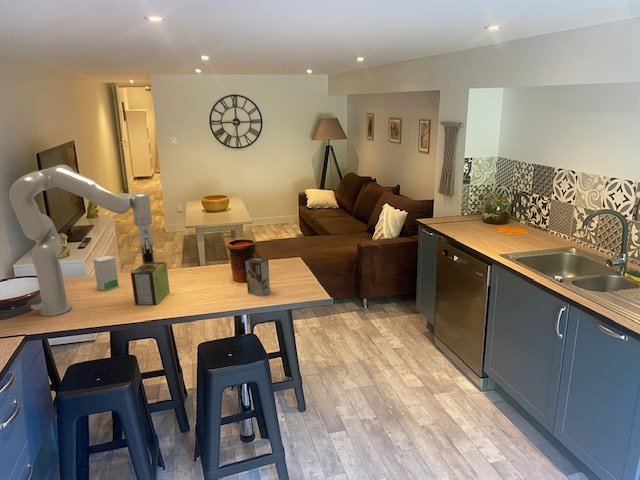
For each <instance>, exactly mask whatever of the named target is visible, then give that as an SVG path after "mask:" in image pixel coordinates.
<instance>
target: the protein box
mask: <svg viewBox="0 0 640 480" xmlns="http://www.w3.org/2000/svg"><path fill="white" fill-rule="evenodd" d="M130 279H131V285H132V286H131V287H132V291H133V298H134V305H138V306H139V305H140V306H141V305H142V306H143V305H144V306H146V305H147V306H157V305H158V304H159V303H160V302H161V301H162V300H164V298H166V297H167V296H168V295H169V294H170V293H171V291H170V282H169V274H168V265H167V261H154V263H152V264H145V265H144V264H143V263H142V264H141V265H139V266H138V267H137V268H135V269H134V270H132V271H131V272H130Z"/></svg>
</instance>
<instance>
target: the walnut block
mask: <svg viewBox="0 0 640 480" xmlns="http://www.w3.org/2000/svg"><path fill="white" fill-rule="evenodd" d="M145 247H146V245H145ZM150 248H151V253H152V261H151V262H145V259H144V248H143V247H142V245H141V244H140V252H141V259H142V264H144V265H145V264H152V263H154V262H155V259H154V249H153V246H151V245H150ZM145 249H146V248H145Z"/></svg>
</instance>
